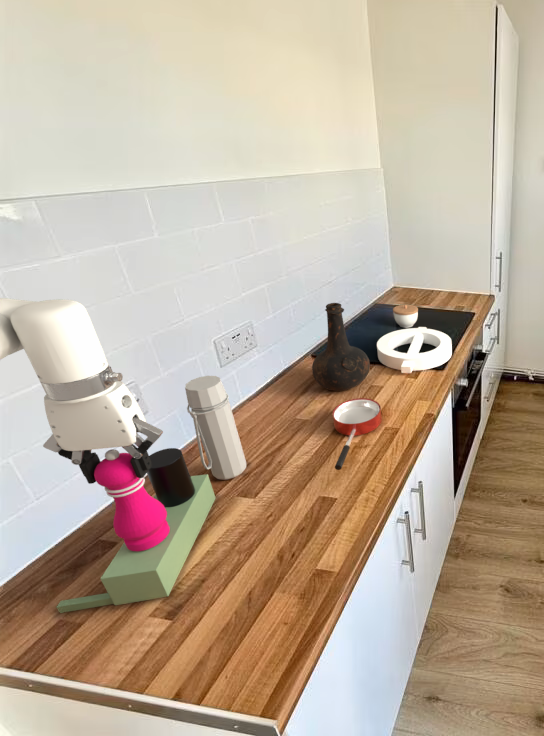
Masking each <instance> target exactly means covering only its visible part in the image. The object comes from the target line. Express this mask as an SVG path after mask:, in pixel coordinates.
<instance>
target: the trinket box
mask: <svg viewBox="0 0 544 736" xmlns="http://www.w3.org/2000/svg"><path fill="white" fill-rule="evenodd" d="M392 312H393V318H394V321H395V323H396V324H397V325H399V327H401V328H404V329H408V328H413V326H414V325H415V324H416V323H417V321H418V317H419V307H417V306H416V305H413V304H399V305H396V306H394V307H392Z"/></svg>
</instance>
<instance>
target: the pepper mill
mask: <svg viewBox="0 0 544 736" xmlns="http://www.w3.org/2000/svg"><path fill="white" fill-rule="evenodd" d="M131 459H132V456H131V455H130V454H129V453H128V452H120V451H119V450H117V449H115V448H114V449H113V448H110V449H108V450H106V451H105V453H104V458H103V459H102V460H100V461H101V462H100V463H99V464H98V465H97V466H96V468H95V471H94V477H95V480H96V482H95V483H97V485H99V486H101V487H104V491H105V493H106V495H107V496H108V497H109V498H112V499H113V501H114V503H115V511H114V516H113V522H112V523H113V529H114V532H115V535H116V536H117V537H118V538H120V539H123V543H124V542H125V544H126V546H127V548H128V549H129V550H131V551H144V550H147V549H150V548H152V547H154V546H156V545H158V544H159V543H161V542H162V541H163V540H164V539H165V538H166V537H167V536H168V534H169V531H170V527H169V525H168V523H167V521H166V517H167V511H166V509H165V507H164V505H163V504H162V503H161V502H160V501H158V500H156V499H155V498H154V496H151V495H150V494H149V493H148V492H147V490H146V488H145V487H144V486H145V483H146V479H145V477H143V478H137V476H136V474H135V471H134V469H133V467H132V464H131V462H130V460H131Z"/></svg>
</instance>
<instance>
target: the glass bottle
mask: <svg viewBox="0 0 544 736" xmlns="http://www.w3.org/2000/svg"><path fill="white" fill-rule="evenodd" d="M324 311H325V312H326V320H327V341H326V342H327V343H326V347H325V349H324V350H322V351H321V352H319V353H318V354H317V355H316V357H315V358H314V360H313V362H312V365H311V373H312V376H313V378H314V379H315V381H316V383H317V384H319V385H320V387H322V388H324V389H327V390H330V391H335V392H340V391H341V392H342V391H348V390H351V389H353V388H355V387H357V386H359V385H360V384H361V383H363V382H364V380H365V379H366V378H367V376H368V374H369V372H370V367H371V364H370V362H371V361H370V359H369V357H368V355H367V354H366V352H364V350H362V349H361V348H359V347H357V346H353V345H351V344H350V343H349V341H348V337H347V333H346V328H345V322H344V318H343V313H344V311H345V308H343V307H342V304H341V303H340V302H330V303H327V304H326V305H325V309H324Z"/></svg>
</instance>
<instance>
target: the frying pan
mask: <svg viewBox="0 0 544 736" xmlns="http://www.w3.org/2000/svg"><path fill="white" fill-rule="evenodd" d="M332 420H333V427H334V429H335V430H336V431H337V432H338V433H340V434H341V435H345V436H348V438H347V440H346V443H345V445H343V447H342V450H341V452H340V454H339V456H338V458H337V461H336V463H335V465H334V469H335V470H336V471H340V470H342V468H343V466H344V464H345V460H346V458H347V456H348V454H349V451H350V448H351V447H350V446H351V443H352V442H353V439H354V437H355V436H356V437H357V436H363V435H366V434H368V433H371V432H373V431H375V430H376V429H378V427H379V426H380V425H381V423H382V421H383V418H382V408H381V404H380V403H379V402H378V401H376V400H374V399H371V398H366V397H361V398H352V399H348V400H345V401H343V402H341V403H340V404H338V405H337V406H335V408H334V409H333V411H332Z"/></svg>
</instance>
